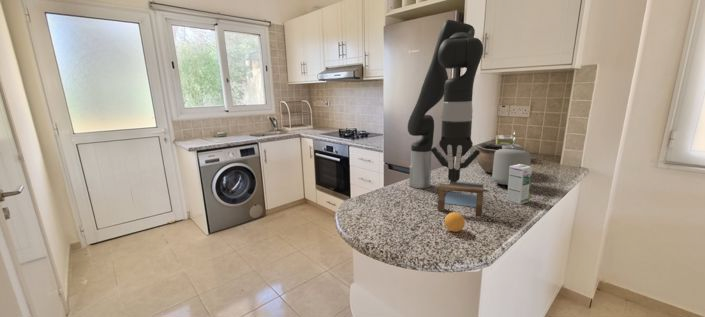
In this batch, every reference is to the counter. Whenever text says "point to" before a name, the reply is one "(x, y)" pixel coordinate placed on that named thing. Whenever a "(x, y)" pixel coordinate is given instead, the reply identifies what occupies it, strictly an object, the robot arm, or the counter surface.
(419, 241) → the counter surface
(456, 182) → the stopper
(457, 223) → the ball
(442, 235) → the counter surface
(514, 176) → the syrup box
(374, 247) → the counter surface
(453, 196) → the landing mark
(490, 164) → the ceramic bowl
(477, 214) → the bridge
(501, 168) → the jar
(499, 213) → the counter surface
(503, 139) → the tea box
